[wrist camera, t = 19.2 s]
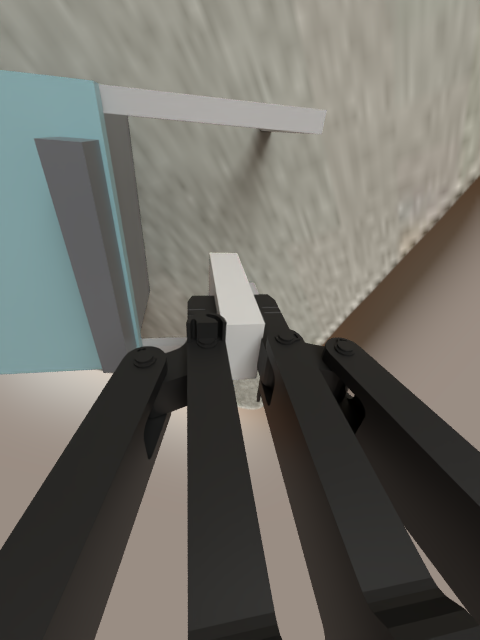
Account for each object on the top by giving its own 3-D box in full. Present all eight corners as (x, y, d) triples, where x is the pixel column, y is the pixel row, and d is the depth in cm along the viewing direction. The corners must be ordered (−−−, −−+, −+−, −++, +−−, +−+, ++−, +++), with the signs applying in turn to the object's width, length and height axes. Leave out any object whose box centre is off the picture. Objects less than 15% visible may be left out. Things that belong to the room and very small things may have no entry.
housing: (25, 291, 27) (-49, 365, 19) (-65, 80, 18) (-288, 39, 10) (253, 289, 31) (277, 350, 23) (273, 116, 22) (326, 110, 14)
